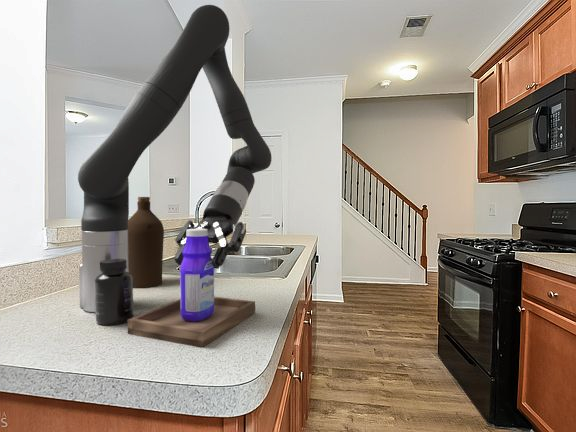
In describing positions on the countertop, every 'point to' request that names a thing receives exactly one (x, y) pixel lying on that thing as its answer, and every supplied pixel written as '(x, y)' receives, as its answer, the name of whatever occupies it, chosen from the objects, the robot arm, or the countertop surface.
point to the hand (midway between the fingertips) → (196, 264)
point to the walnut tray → (191, 322)
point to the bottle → (197, 277)
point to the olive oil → (145, 246)
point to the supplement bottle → (113, 293)
